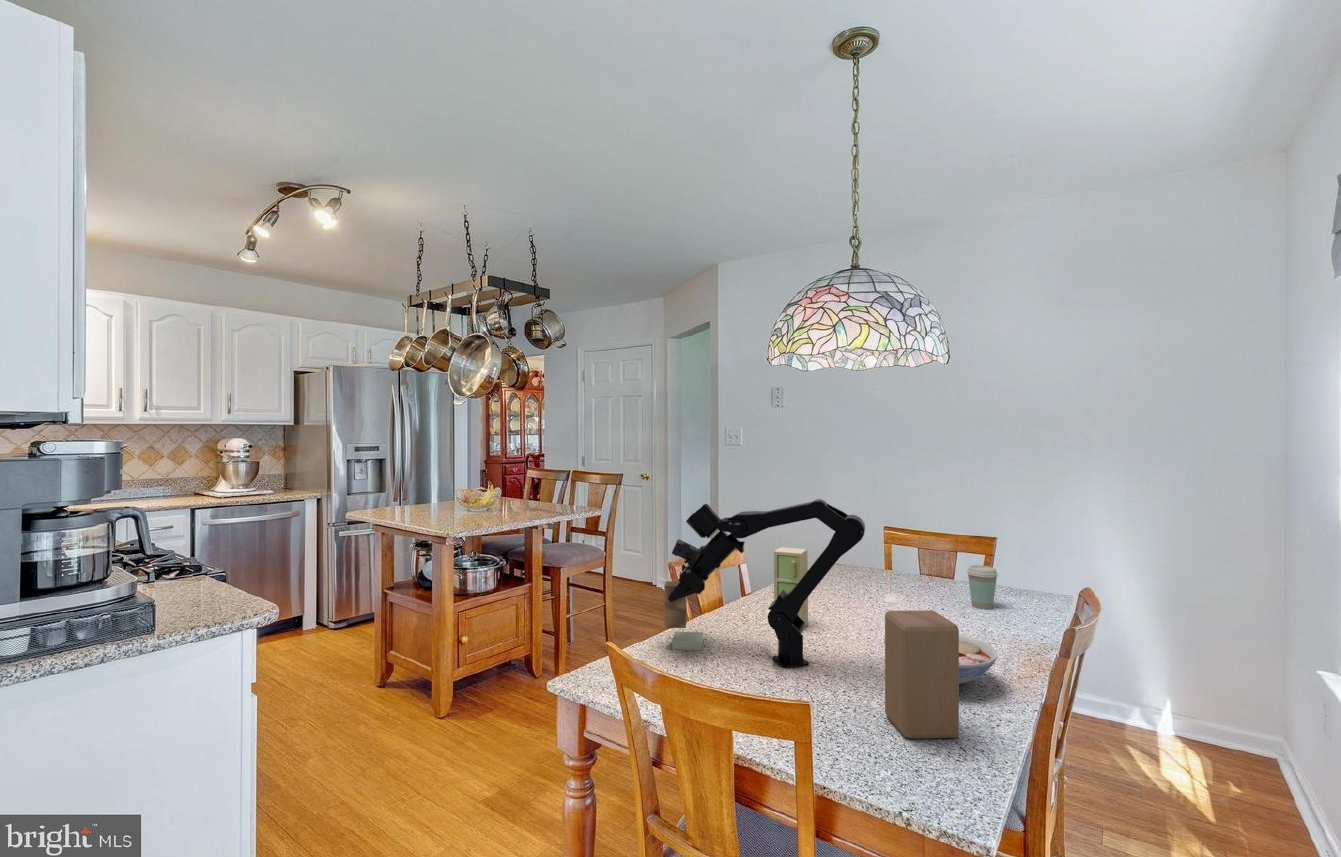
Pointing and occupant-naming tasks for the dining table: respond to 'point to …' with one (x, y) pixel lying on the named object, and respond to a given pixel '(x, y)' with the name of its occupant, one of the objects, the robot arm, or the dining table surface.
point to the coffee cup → (982, 586)
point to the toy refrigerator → (790, 573)
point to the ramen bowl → (974, 658)
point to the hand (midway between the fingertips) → (670, 597)
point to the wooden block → (922, 674)
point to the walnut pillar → (674, 608)
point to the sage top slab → (687, 640)
